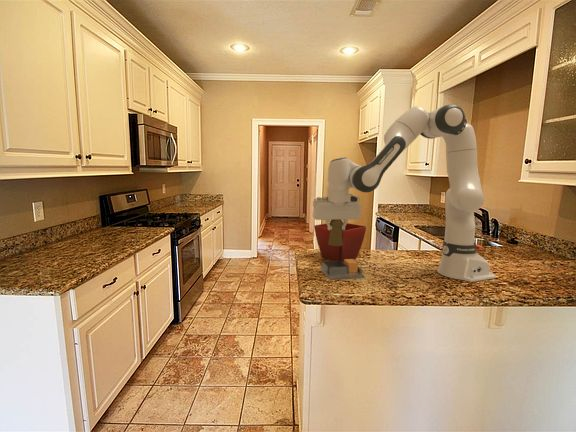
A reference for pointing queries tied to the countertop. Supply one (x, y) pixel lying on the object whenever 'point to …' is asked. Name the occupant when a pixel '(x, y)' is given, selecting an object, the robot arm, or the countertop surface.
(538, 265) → the countertop surface
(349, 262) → the bracket block
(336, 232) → the cork
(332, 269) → the grey tray with frame
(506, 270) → the countertop surface
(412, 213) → the countertop surface
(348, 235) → the plant pot
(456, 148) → the robot arm
